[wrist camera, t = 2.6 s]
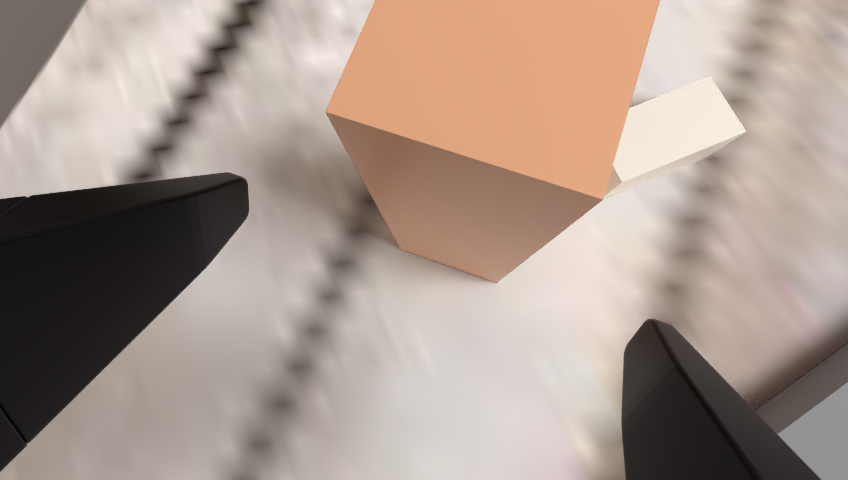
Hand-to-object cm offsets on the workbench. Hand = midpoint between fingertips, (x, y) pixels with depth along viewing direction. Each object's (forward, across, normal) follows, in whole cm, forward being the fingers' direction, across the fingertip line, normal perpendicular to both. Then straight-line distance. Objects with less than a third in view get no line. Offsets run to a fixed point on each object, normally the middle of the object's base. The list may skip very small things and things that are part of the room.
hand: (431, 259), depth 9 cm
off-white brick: (+15, -7, +1) cm, 17 cm away
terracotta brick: (+11, 0, +5) cm, 12 cm away
